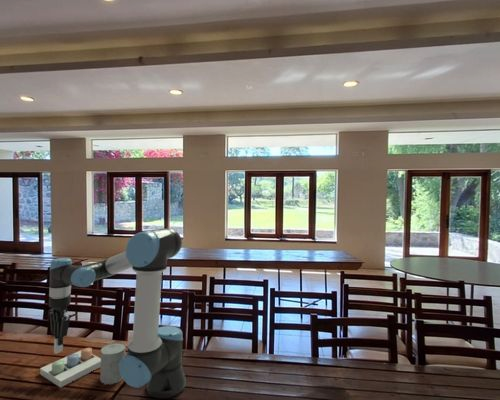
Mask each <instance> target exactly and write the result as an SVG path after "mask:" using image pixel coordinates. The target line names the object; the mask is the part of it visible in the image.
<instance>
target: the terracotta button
mask: <svg viewBox="0 0 500 400" xmlns="http://www.w3.org/2000/svg"><path fill="white" fill-rule="evenodd" d="M80 350H81V361H83V362H85V361H87V360H89V359H91V358H92V354H93V348H92V347H85V348H83V349H80Z"/></svg>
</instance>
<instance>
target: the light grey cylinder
mask: <svg viewBox="0 0 500 400" xmlns="http://www.w3.org/2000/svg"><path fill="white" fill-rule="evenodd" d="M126 348H127V345H126V344H125V343H124V342H123V343H122V342H112V343H107V344H106V345H104V346H102V347H101V349H100V358H101V367H100V374H99V376H100V378H99V381H101V382H102V383H104V384H103V385H106V384H109V385H114V383H115V384H117V383H119V382H121V381H122V380H124V379H123V378H122V376H121V374H120V371H119V364H120V361H121V360H122V359H123V357H124V356H126V353H127V352H126V351H127V350H126ZM101 382H100V383H101ZM102 383H101V384H102Z"/></svg>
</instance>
